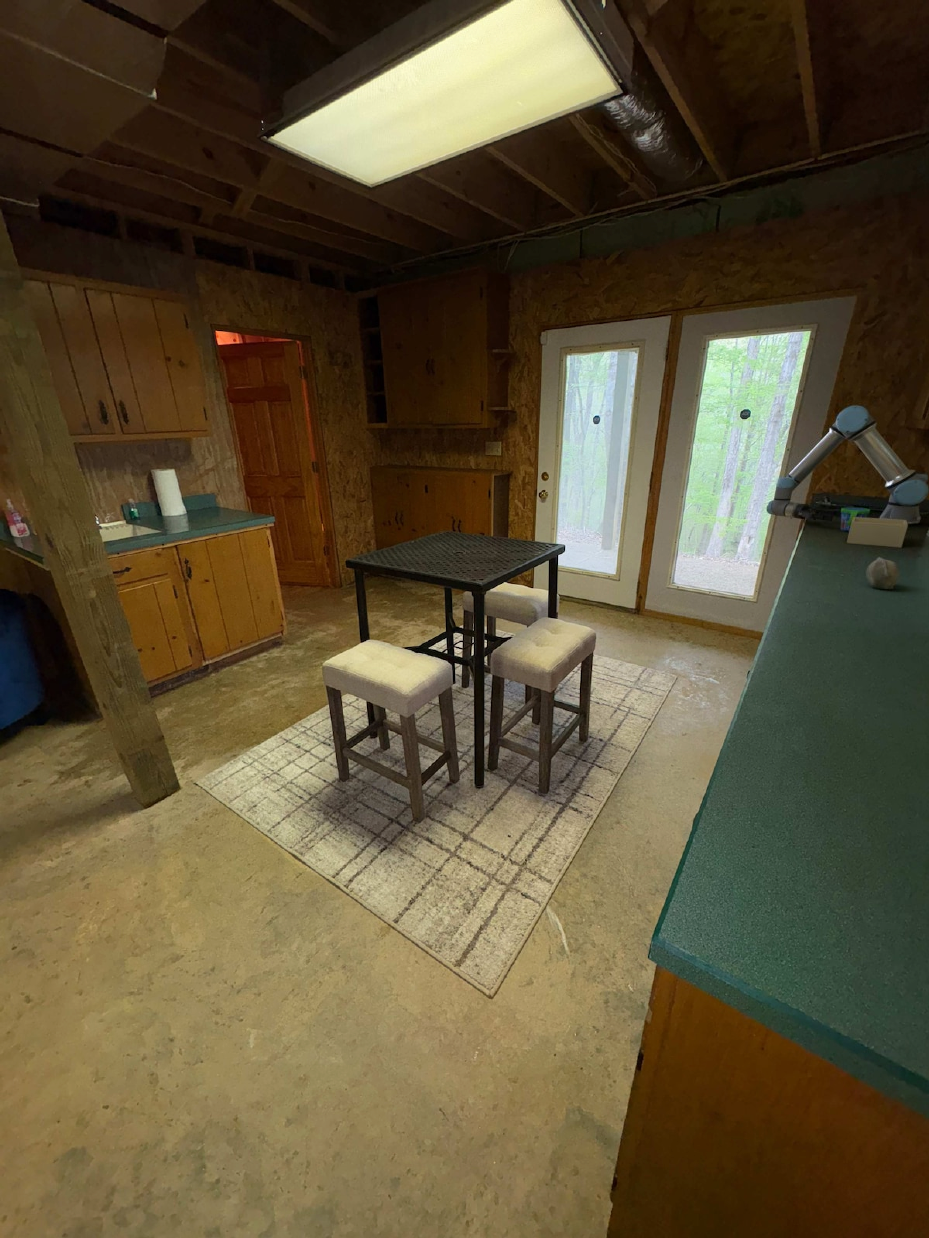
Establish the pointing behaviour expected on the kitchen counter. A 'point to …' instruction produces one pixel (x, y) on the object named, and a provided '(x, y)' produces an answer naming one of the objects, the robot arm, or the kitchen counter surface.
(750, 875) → the kitchen counter surface
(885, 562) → the garlic bulb
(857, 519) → the tan rectangular box
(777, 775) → the kitchen counter surface
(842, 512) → the snack cup
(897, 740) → the kitchen counter surface
